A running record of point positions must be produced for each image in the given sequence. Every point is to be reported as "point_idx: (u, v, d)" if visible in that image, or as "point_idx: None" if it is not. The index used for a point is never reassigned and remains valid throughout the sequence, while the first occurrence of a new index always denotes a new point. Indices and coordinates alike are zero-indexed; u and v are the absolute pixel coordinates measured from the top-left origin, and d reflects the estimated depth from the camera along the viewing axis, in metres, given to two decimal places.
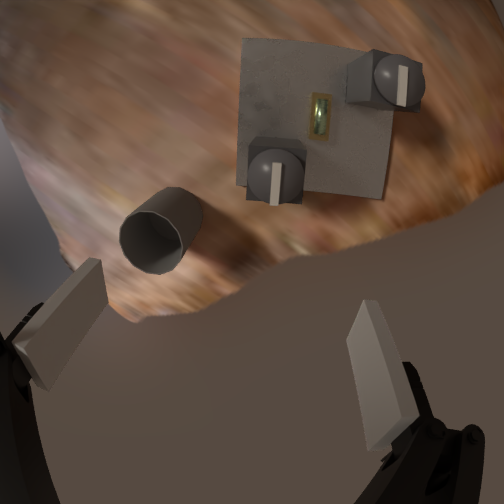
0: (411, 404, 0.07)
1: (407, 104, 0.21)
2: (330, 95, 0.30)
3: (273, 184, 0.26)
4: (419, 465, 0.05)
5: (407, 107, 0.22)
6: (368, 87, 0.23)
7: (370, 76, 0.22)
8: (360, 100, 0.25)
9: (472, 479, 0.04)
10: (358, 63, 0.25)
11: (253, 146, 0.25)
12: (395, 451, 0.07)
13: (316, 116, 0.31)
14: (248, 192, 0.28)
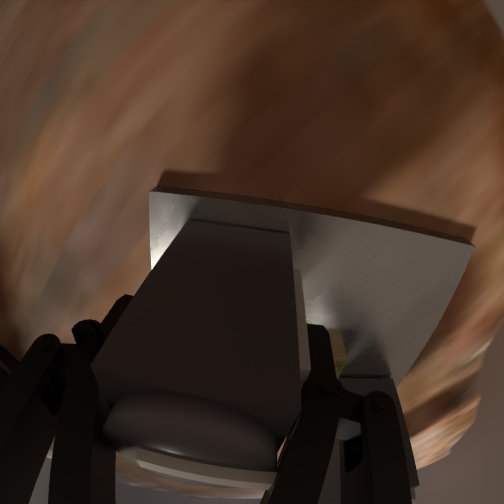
0: (304, 358, 0.09)
1: (269, 468, 0.06)
2: None
3: None
4: (318, 426, 0.07)
5: (280, 432, 0.07)
6: None
7: None
8: None
9: (391, 450, 0.06)
10: None
11: None
12: None
13: None
14: None
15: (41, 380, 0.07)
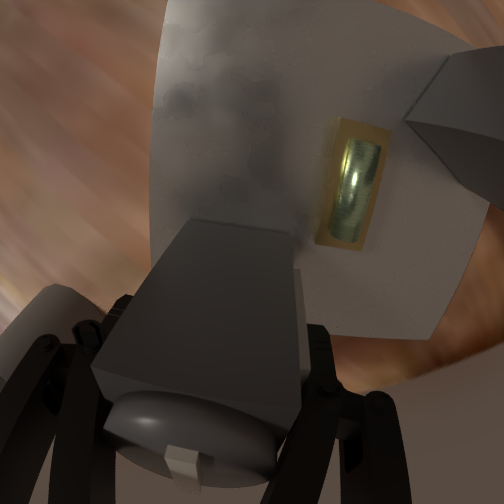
0: (304, 358, 0.09)
1: None
2: (387, 132, 0.11)
3: (179, 479, 0.06)
4: (318, 426, 0.07)
5: None
6: None
7: None
8: None
9: (391, 450, 0.06)
10: (470, 144, 0.07)
11: (105, 373, 0.06)
12: None
13: (344, 190, 0.12)
14: None
15: (41, 380, 0.07)
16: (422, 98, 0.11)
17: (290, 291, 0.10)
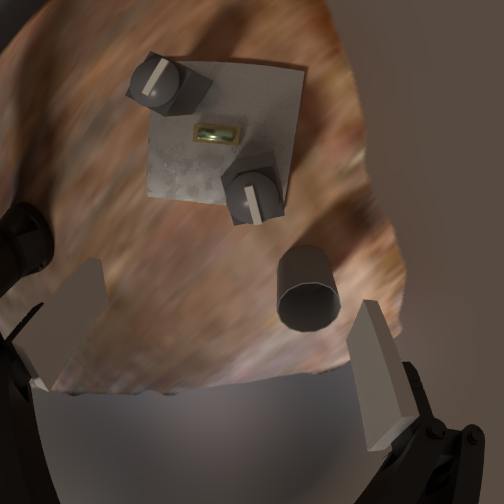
0: (411, 404, 0.07)
1: (159, 59, 0.22)
2: (194, 125, 0.34)
3: (251, 206, 0.28)
4: (419, 465, 0.05)
5: (160, 57, 0.23)
6: (188, 84, 0.25)
7: (180, 93, 0.25)
8: (200, 76, 0.26)
9: (472, 479, 0.04)
10: (183, 110, 0.30)
11: (224, 177, 0.28)
12: (395, 451, 0.07)
13: (214, 139, 0.34)
14: (234, 218, 0.30)
15: None
16: None
17: (272, 157, 0.32)
